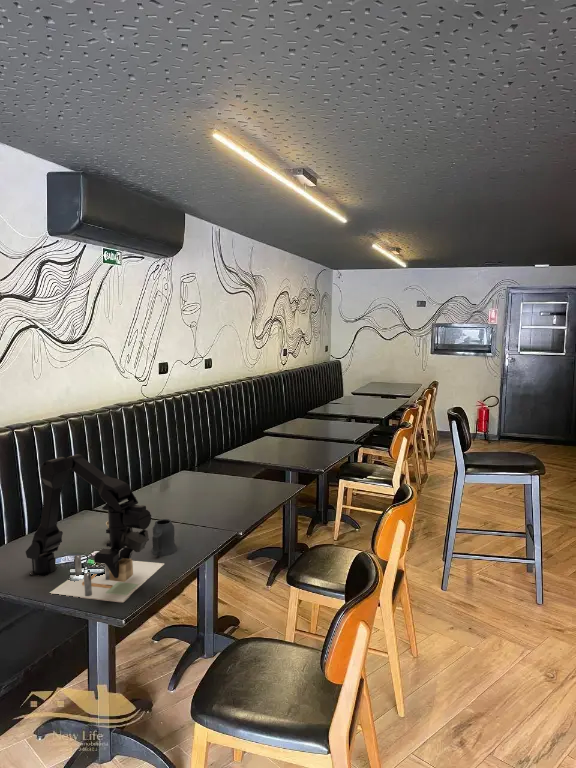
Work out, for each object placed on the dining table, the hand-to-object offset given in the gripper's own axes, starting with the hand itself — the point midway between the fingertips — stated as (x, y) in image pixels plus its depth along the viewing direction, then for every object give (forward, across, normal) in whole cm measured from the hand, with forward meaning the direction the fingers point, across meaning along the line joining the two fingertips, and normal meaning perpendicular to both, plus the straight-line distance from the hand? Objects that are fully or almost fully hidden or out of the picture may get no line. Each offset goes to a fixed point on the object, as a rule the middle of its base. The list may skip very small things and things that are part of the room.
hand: (121, 573), depth 168 cm
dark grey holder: (+5, +28, 0) cm, 29 cm away
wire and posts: (+5, +2, +12) cm, 13 cm away
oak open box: (+1, 0, 0) cm, 1 cm away
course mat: (+5, +6, +8) cm, 11 cm away
